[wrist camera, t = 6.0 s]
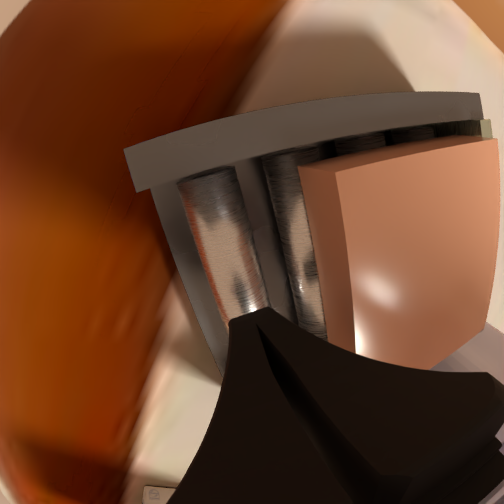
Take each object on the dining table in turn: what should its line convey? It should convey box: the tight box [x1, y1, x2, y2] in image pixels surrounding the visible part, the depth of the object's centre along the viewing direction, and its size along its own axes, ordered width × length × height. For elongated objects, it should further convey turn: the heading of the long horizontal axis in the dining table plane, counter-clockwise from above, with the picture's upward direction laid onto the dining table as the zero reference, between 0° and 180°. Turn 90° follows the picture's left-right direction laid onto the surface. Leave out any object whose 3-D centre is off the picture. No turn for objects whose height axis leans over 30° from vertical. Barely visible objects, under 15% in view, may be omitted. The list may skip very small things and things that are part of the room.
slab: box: [297, 135, 500, 370], centre depth 10 cm, size 8×9×2 cm
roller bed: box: [123, 92, 493, 377], centre depth 12 cm, size 14×13×5 cm
